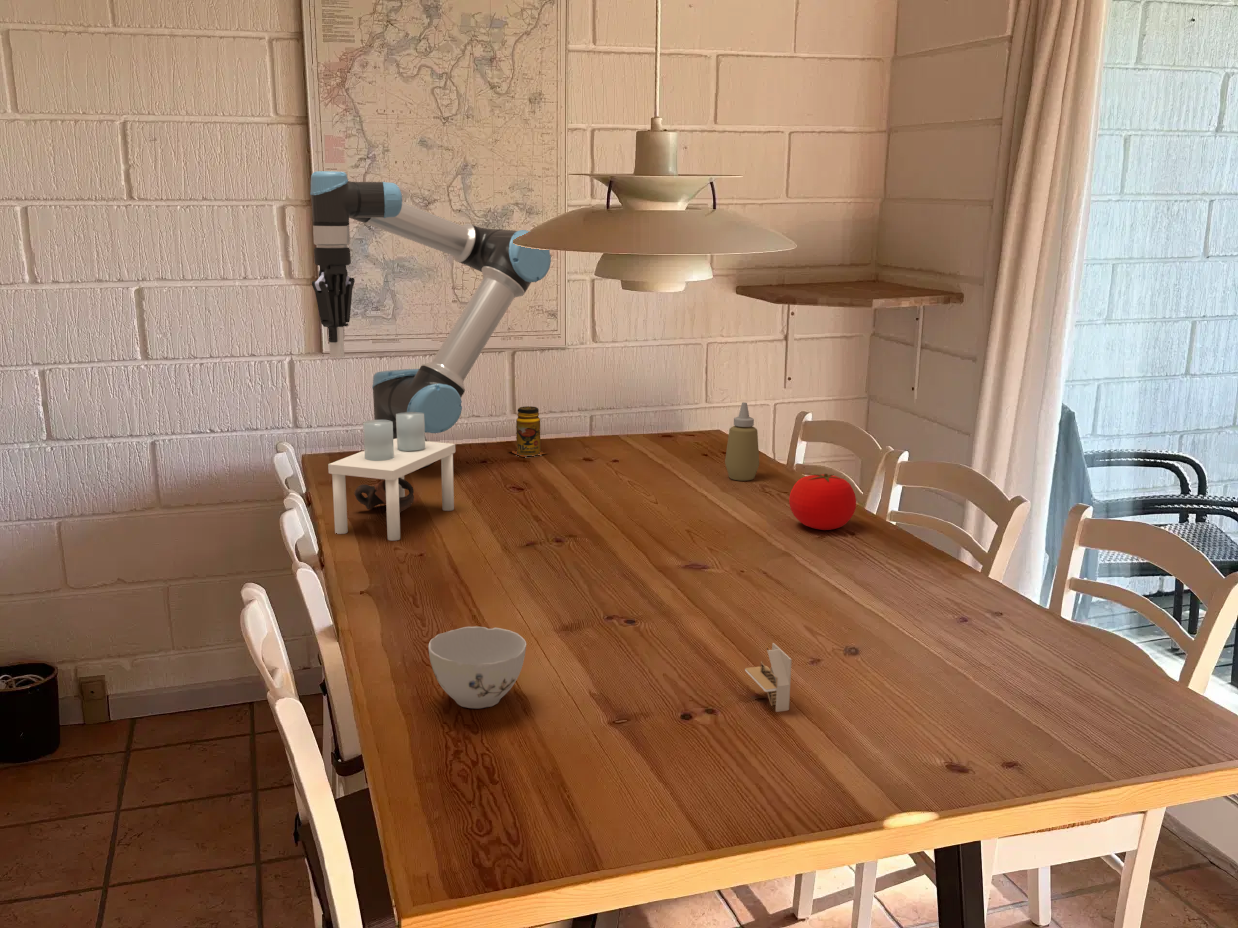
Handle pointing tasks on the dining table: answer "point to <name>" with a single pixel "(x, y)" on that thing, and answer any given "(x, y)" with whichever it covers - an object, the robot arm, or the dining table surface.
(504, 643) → the teacup
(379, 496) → the pottery mug
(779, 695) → the architectural model
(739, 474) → the squeeze bottle
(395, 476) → the side counter
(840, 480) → the tomato
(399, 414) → the grey domed cylinder
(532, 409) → the condiment
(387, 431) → the tumbler
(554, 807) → the dining table surface
